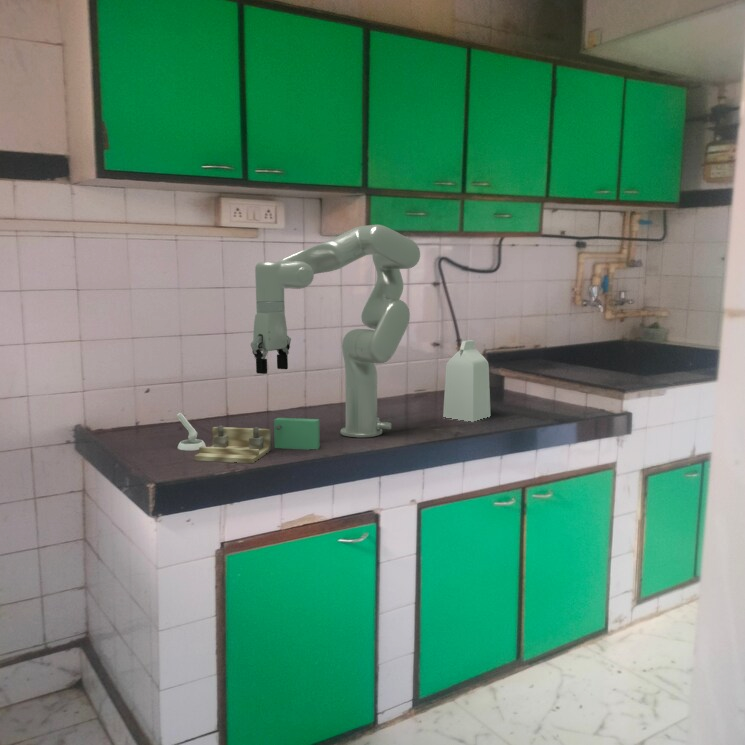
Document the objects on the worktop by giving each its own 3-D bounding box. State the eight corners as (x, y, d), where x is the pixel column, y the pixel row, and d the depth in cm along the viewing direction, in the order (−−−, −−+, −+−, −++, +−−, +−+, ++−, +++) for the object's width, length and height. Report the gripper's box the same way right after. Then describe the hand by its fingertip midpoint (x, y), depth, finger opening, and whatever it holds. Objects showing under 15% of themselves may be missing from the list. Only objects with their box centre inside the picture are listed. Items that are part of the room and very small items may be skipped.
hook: (159, 427, 202) (179, 412, 205) (186, 460, 204) (206, 444, 206) (161, 427, 195) (182, 410, 198) (189, 461, 197) (209, 444, 200)
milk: (473, 422, 237) (474, 343, 233) (443, 418, 243) (444, 341, 240) (490, 416, 246) (492, 340, 243) (461, 412, 253) (462, 338, 250)
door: (319, 447, 202) (319, 419, 200) (315, 450, 197) (315, 422, 196) (278, 445, 204) (277, 417, 203) (273, 449, 200) (273, 420, 199)
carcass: (270, 450, 197) (270, 425, 196) (253, 463, 184) (252, 436, 183) (215, 448, 200) (214, 423, 199) (193, 460, 186) (193, 433, 186)
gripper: (277, 306, 204) (278, 366, 206) (239, 309, 189) (241, 374, 191) (299, 306, 201) (301, 368, 203) (263, 310, 185) (265, 376, 188)
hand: (272, 371), depth 197 cm, fingers open, 9 cm apart
